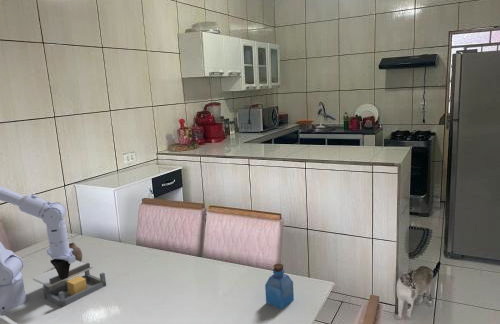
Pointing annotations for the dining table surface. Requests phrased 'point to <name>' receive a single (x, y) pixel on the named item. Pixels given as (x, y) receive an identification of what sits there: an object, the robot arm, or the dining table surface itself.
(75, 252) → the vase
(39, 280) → the lid
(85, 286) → the block
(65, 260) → the robot arm
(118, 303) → the dining table surface
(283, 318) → the dining table surface
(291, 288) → the perfume bottle
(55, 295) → the case
